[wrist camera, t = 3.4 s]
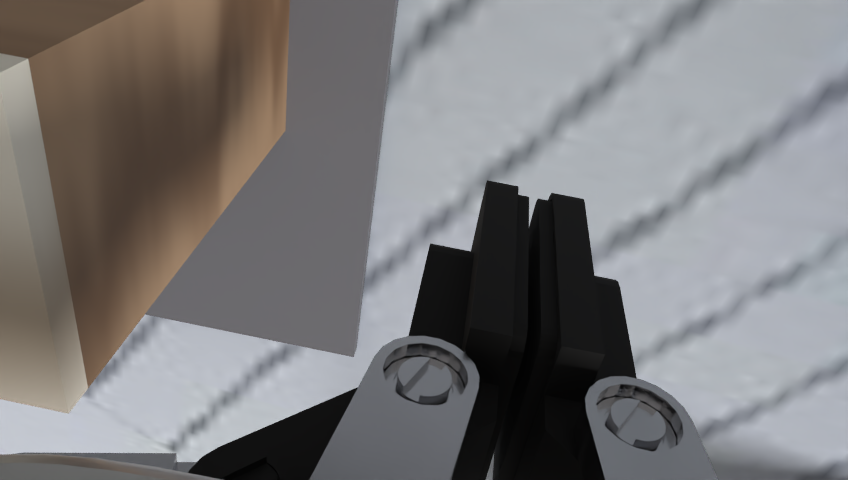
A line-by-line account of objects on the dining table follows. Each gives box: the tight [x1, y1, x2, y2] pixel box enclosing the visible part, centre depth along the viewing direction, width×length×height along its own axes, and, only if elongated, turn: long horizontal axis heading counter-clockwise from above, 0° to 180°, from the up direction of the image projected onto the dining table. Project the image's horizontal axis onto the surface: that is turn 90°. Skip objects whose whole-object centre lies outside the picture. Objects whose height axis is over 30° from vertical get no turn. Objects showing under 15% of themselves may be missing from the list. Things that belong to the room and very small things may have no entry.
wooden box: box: [0, 0, 290, 413], centre depth 15 cm, size 6×6×12 cm
